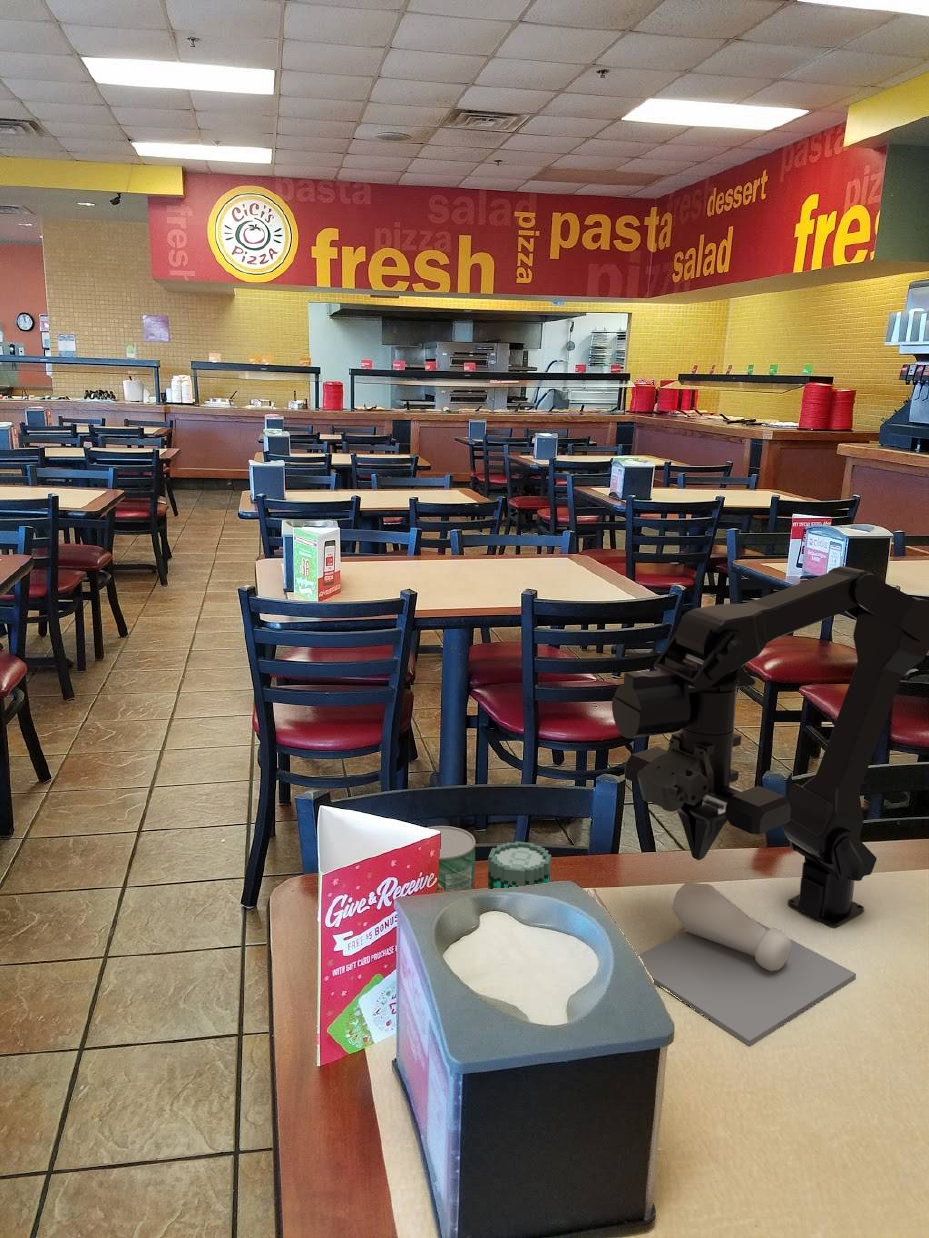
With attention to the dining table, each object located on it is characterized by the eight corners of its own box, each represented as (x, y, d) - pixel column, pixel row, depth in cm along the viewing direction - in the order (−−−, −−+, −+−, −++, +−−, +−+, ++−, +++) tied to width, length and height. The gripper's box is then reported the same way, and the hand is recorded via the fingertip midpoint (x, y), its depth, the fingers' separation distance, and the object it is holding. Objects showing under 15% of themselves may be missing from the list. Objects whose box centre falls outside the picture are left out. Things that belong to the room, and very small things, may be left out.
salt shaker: (673, 931, 106) (772, 991, 96) (662, 903, 102) (764, 963, 93) (701, 894, 108) (802, 949, 99) (692, 865, 105) (794, 920, 95)
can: (483, 1000, 93) (484, 866, 90) (495, 966, 99) (496, 839, 95) (542, 1009, 91) (545, 873, 88) (550, 974, 97) (554, 845, 94)
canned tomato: (486, 919, 108) (487, 833, 105) (457, 953, 101) (457, 863, 99) (427, 903, 111) (427, 820, 109) (395, 936, 104) (393, 848, 102)
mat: (732, 913, 109) (732, 908, 109) (855, 978, 97) (856, 973, 96) (626, 965, 99) (626, 960, 99) (749, 1046, 86) (749, 1040, 86)
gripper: (592, 717, 101) (587, 846, 104) (729, 769, 86) (719, 917, 90) (661, 699, 107) (654, 821, 111) (799, 745, 93) (787, 884, 96)
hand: (698, 858), depth 102 cm, fingers closed
